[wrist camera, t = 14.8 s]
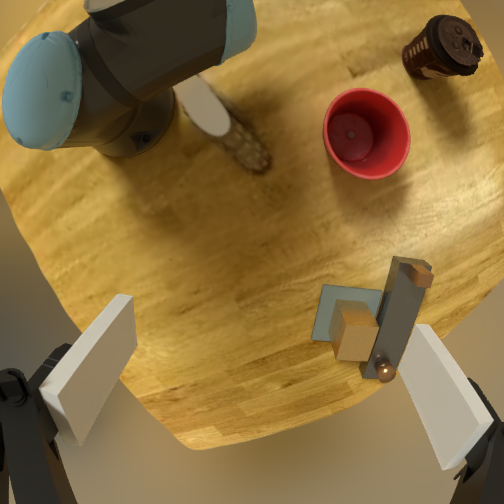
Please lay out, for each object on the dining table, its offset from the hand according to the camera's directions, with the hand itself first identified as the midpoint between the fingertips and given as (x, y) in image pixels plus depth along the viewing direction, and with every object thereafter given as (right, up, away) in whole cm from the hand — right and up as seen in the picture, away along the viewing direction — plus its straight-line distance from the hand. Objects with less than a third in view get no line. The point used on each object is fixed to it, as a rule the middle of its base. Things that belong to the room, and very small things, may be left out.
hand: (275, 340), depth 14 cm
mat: (+14, -6, +36) cm, 39 cm away
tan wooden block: (+14, -7, +36) cm, 39 cm away
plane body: (+23, -7, +36) cm, 43 cm away
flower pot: (+13, +20, +28) cm, 37 cm away
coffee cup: (+25, +33, +23) cm, 47 cm away
